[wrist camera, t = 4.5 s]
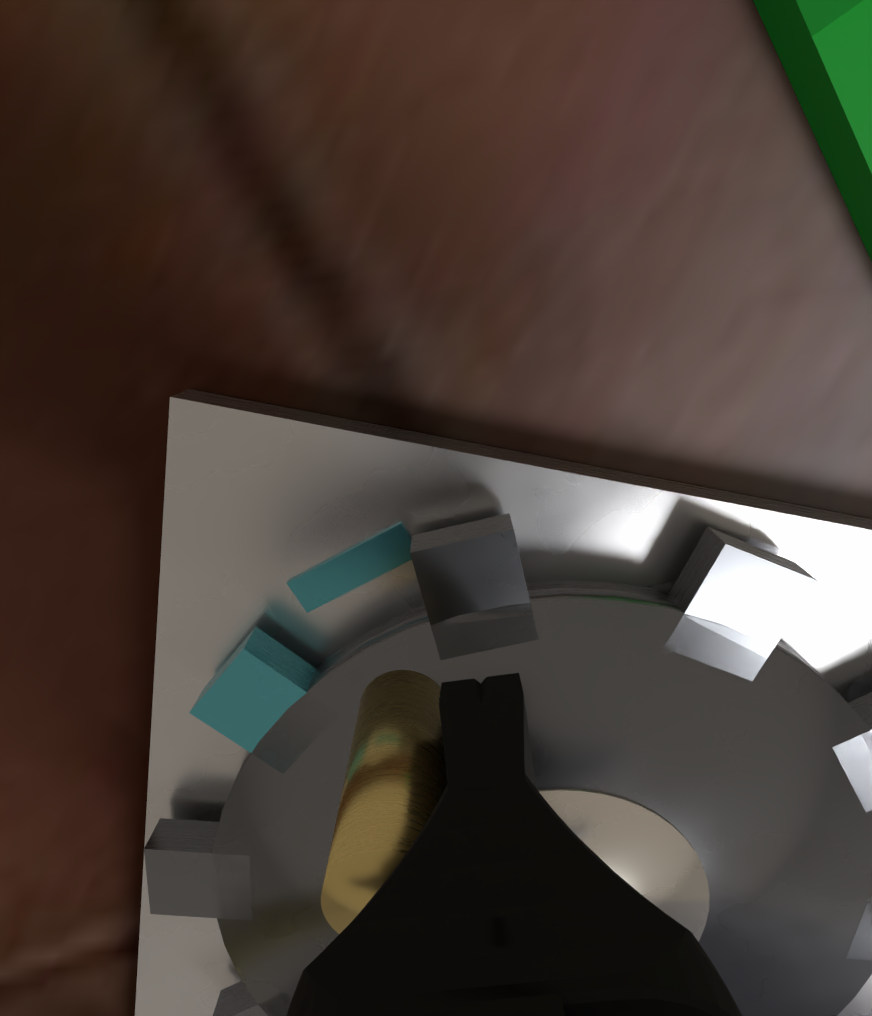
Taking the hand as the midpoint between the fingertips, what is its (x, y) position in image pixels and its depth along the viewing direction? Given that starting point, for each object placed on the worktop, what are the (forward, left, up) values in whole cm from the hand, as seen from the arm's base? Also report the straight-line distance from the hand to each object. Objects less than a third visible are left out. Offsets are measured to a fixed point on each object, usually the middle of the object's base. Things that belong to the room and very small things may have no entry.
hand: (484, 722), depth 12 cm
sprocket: (-3, +6, -2) cm, 7 cm away
